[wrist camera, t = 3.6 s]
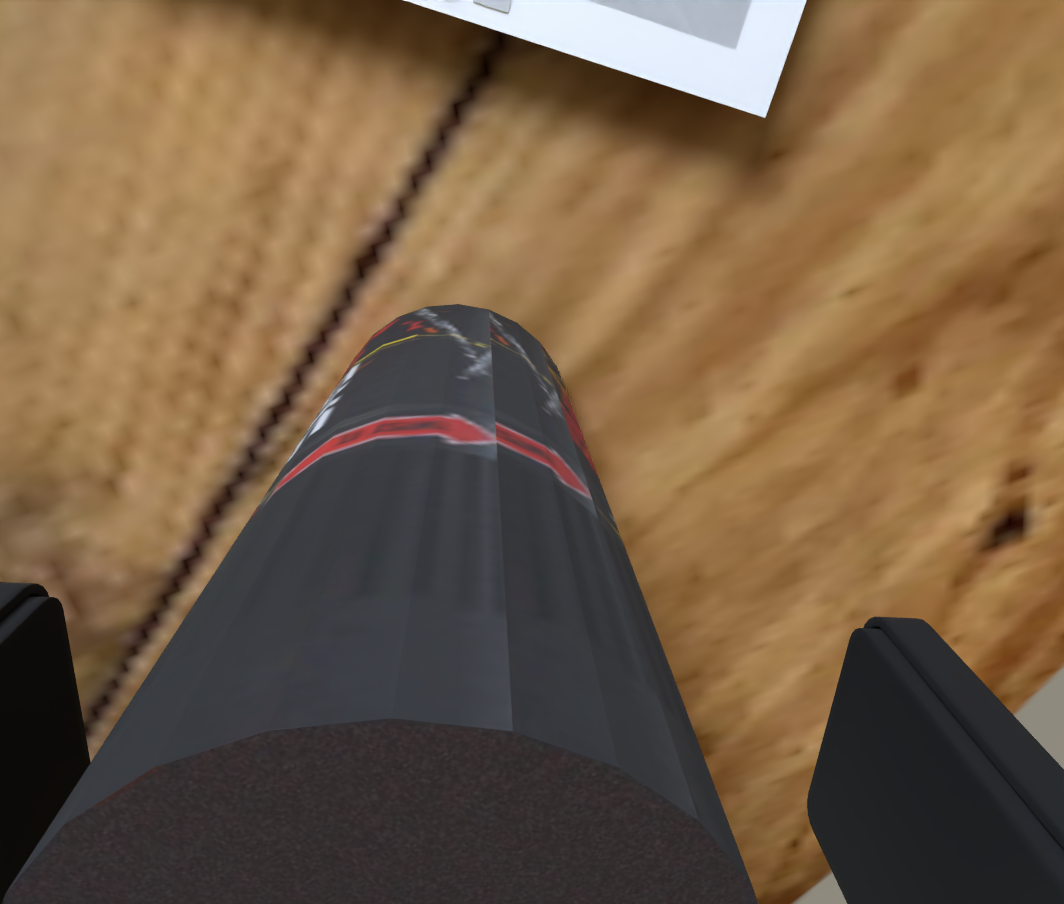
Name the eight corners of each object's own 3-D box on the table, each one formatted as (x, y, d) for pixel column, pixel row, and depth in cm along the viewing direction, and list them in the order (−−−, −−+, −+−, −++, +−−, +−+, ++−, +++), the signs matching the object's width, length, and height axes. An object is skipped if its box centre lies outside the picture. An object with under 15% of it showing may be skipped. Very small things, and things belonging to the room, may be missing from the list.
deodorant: (372, 272, 18) (21, 622, 4) (599, 345, 19) (911, 820, 5) (318, 486, 20) (-49, 1208, 6) (527, 541, 21) (617, 1272, 7)
